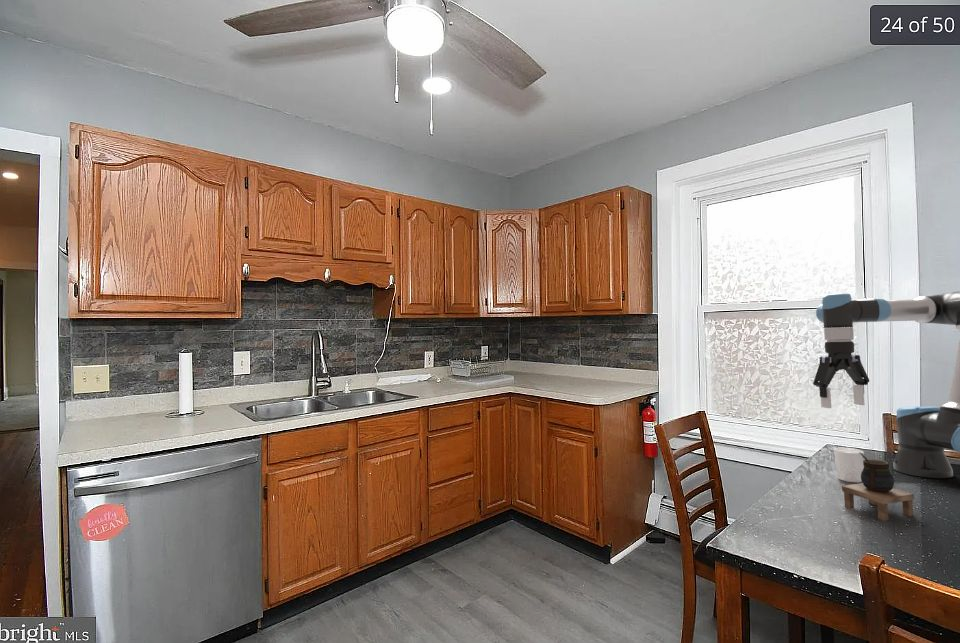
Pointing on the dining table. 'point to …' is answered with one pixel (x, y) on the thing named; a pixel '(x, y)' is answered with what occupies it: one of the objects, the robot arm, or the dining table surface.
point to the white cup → (849, 464)
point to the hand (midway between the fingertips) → (843, 406)
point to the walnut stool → (879, 499)
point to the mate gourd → (877, 475)
